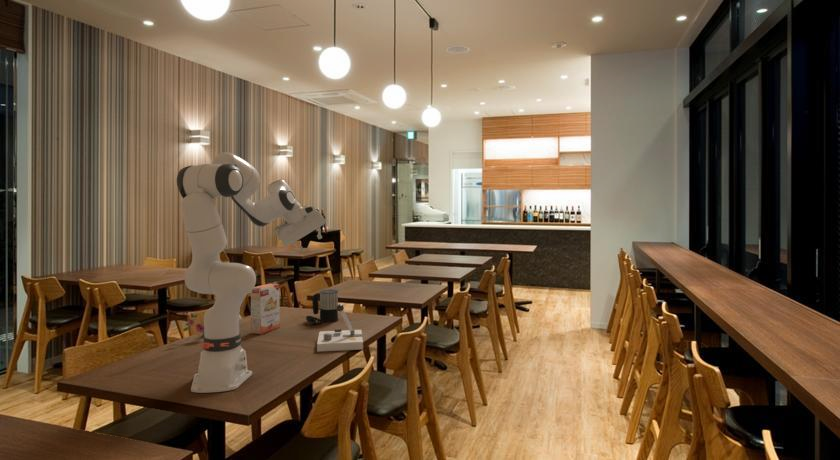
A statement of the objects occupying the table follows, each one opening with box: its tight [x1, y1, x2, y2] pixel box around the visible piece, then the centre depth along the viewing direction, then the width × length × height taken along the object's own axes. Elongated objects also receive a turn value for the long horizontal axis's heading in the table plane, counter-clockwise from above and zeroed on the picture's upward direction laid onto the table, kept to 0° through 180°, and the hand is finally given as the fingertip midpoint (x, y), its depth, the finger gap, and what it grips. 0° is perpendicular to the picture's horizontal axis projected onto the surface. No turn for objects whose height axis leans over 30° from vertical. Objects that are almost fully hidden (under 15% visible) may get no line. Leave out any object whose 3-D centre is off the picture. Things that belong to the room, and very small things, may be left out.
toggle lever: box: [336, 303, 355, 335], centre depth 216 cm, size 3×3×14 cm
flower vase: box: [182, 312, 243, 338], centre depth 235 cm, size 12×12×35 cm
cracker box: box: [250, 283, 281, 335], centre depth 239 cm, size 14×6×21 cm, turn 159°
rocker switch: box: [333, 328, 342, 332], centre depth 220 cm, size 4×3×1 cm, turn 8°
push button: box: [324, 333, 332, 340], centre depth 211 cm, size 3×3×2 cm
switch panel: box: [316, 329, 364, 352], centre depth 216 cm, size 20×18×3 cm
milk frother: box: [305, 289, 340, 325], centre depth 255 cm, size 14×16×15 cm
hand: (311, 244), depth 221 cm, fingers open, 8 cm apart
